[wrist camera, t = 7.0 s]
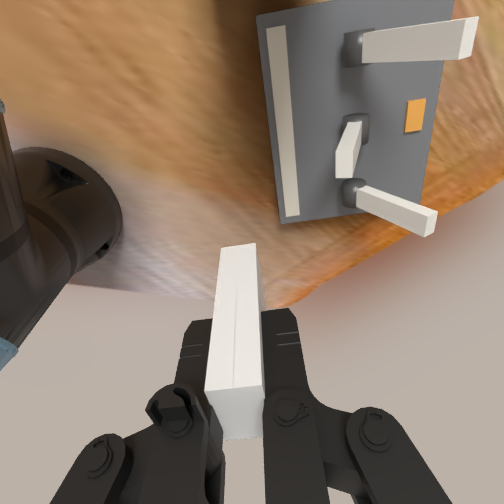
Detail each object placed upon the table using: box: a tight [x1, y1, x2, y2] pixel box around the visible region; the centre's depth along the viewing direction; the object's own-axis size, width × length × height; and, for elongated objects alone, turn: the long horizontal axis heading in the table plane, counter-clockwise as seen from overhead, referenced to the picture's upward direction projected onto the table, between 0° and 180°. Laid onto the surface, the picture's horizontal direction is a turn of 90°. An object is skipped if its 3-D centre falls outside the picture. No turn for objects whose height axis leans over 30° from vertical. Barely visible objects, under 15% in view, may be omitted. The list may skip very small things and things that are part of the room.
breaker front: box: [343, 16, 479, 68], centre depth 22 cm, size 2×2×10 cm
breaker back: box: [342, 178, 438, 237], centre depth 30 cm, size 2×2×10 cm
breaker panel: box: [256, 0, 454, 224], centre depth 31 cm, size 16×20×3 cm
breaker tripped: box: [336, 113, 370, 178], centre depth 26 cm, size 2×2×10 cm
